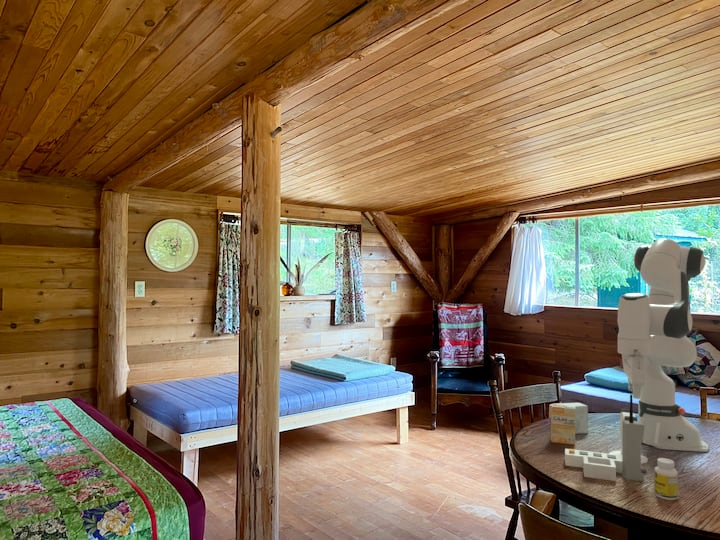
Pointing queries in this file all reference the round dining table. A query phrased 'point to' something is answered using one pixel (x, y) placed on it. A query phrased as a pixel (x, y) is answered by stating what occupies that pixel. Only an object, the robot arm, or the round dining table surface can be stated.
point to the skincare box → (579, 417)
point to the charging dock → (595, 463)
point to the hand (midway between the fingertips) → (634, 394)
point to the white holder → (623, 416)
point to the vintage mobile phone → (632, 447)
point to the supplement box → (563, 424)
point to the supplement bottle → (666, 479)
